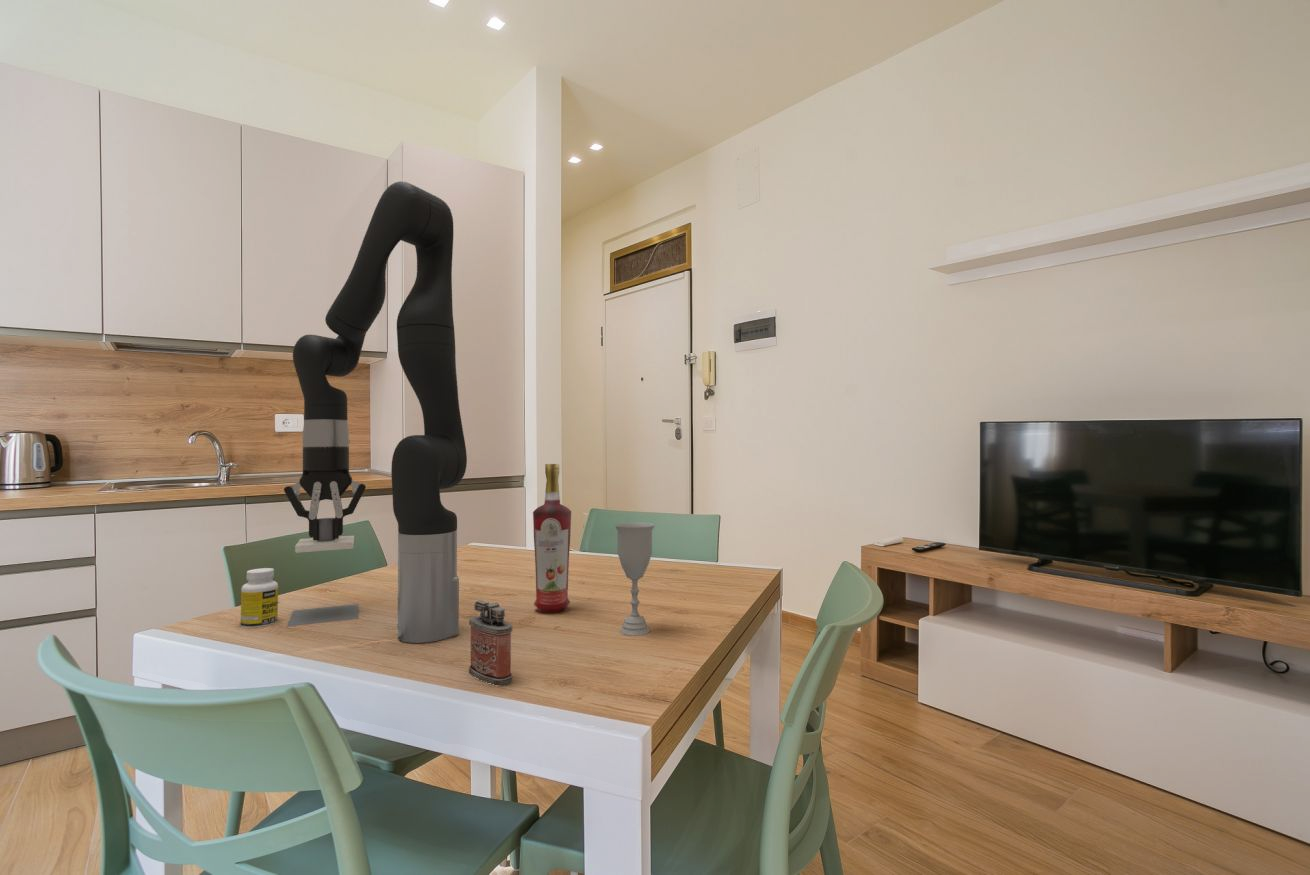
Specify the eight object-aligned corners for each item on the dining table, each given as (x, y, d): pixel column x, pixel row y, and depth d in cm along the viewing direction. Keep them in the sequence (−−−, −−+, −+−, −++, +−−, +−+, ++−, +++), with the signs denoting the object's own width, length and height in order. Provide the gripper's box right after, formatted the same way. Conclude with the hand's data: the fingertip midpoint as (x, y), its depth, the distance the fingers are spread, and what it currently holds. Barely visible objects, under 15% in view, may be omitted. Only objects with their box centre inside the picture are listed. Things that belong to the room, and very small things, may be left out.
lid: (354, 541, 116) (354, 514, 116) (353, 548, 108) (353, 519, 108) (300, 545, 112) (300, 517, 112) (295, 552, 104) (295, 522, 104)
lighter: (518, 680, 80) (518, 606, 80) (496, 688, 78) (496, 611, 78) (484, 666, 85) (484, 596, 86) (463, 672, 83) (463, 600, 83)
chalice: (646, 639, 97) (646, 528, 98) (607, 635, 99) (607, 526, 100) (660, 626, 104) (660, 523, 104) (624, 622, 106) (624, 521, 107)
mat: (358, 606, 117) (358, 603, 117) (358, 621, 107) (358, 618, 107) (293, 613, 112) (293, 610, 112) (286, 629, 102) (286, 626, 102)
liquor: (572, 604, 119) (572, 463, 119) (569, 614, 112) (570, 464, 112) (535, 605, 118) (535, 463, 119) (530, 615, 111) (530, 464, 112)
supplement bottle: (264, 631, 102) (264, 573, 102) (232, 631, 102) (233, 573, 102) (284, 621, 107) (285, 567, 107) (254, 621, 107) (255, 566, 107)
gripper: (278, 445, 104) (279, 545, 103) (368, 444, 110) (368, 538, 110) (284, 445, 111) (284, 539, 110) (368, 445, 117) (368, 533, 116)
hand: (326, 538), depth 110 cm, fingers closed on lid, 2 cm apart
